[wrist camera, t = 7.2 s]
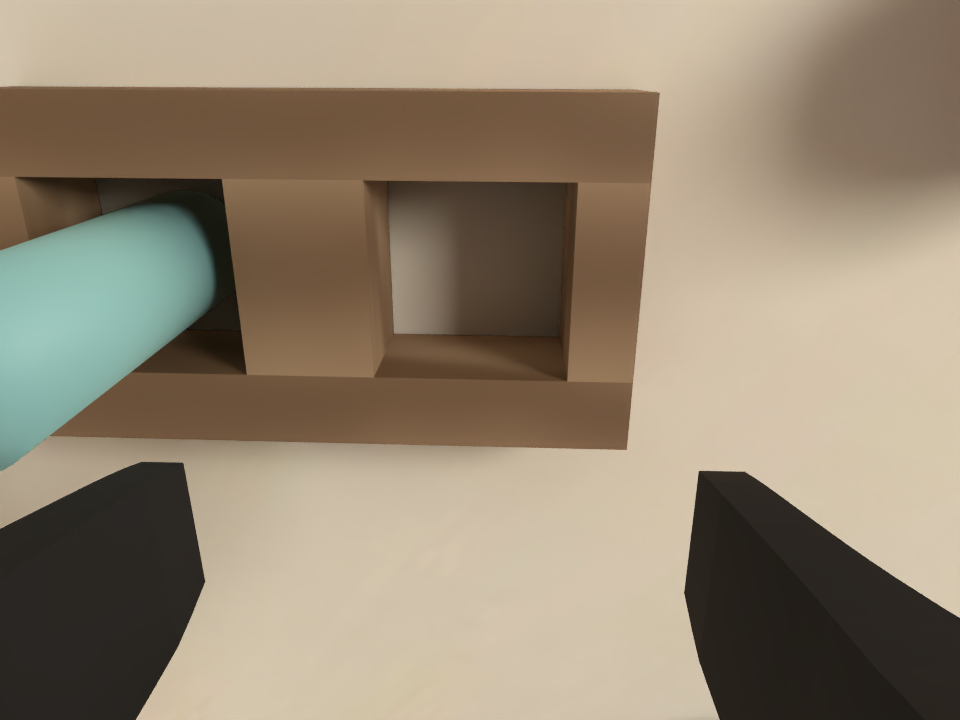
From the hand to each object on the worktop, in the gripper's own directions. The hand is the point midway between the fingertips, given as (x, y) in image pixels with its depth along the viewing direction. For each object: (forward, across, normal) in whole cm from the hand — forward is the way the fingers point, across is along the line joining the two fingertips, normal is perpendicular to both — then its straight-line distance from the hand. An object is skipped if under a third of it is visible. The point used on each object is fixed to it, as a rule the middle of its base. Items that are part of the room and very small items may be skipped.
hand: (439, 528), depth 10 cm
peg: (+10, +7, -2) cm, 12 cm away
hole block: (+10, +4, -2) cm, 11 cm away
